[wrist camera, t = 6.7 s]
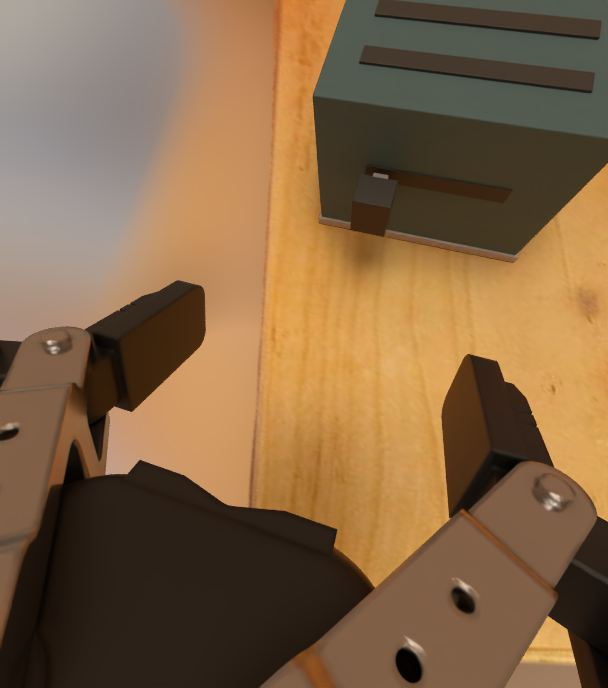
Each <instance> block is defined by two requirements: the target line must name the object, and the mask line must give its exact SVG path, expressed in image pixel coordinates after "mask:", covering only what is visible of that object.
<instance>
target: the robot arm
mask: <svg viewBox="0 0 608 688" xmlns="http://www.w3.org/2000/svg"><path fill="white" fill-rule="evenodd" d="M205 331H206V327H205V294H204V289H203V288H202V287H201V286H199V285H195V284H191V283H187V282H183V281H179V280H178V281H175V282H174V283H172V284H170V285H169V286H167V287H165V288H163V289H162V290H160V291H158V292H155V293H152V294H148V295H144V296H142V297H140V298H138V299H137V300H135V301H133V302H131V303H130V305H126V306H124V307H123V308H121V309H120V311H116V312H114V313H112V314H111V315H109V316H107V317H105V318H104V319H102V320H100V321H98V322H97V323H95V324H93V325H92V326H90V327H88V328H86V329H85V330H83V329H81V328H76V327H55V328H49V329H45V330H42V331H39V332H37V333H34V334H32V335H30V336H29V337H28V338H26V339H25V340H24V341H23V342H18V341H2V340H0V688H504V687H505V686H506V684H507V682H508V680H509V679H510V677H511V676H512V674H513V672H514V671H515V669H516V667H517V666H518V664H519V662H520V661H521V659H522V657H523V656H524V654H525V652H526V651H527V649H528V648H529V646H530V644H531V643H532V641H533V639H534V638H535V636H536V634H537V633H538V631H539V629H540V628H541V626H542V624H543V623H544V621H545V619H546V618H547V616H549V617H550V618H552V619H553V620H555V621H556V622H558V623H559V624H561V625H562V626H564V627H565V628H567V630H568V634H569V638H570V642H571V646H572V650H573V654H574V658H575V662H576V666H577V670H578V674H579V678H580V682H581V686H582V688H608V522H607V521H605V520H604V519H602V518H600V517H598V516H597V512H596V508H595V506H594V503H593V502H592V500H591V498H590V497H589V496H588V494H587V493H586V492H585V491H584V490H583V489H582V487H581V486H580V485H578V484H577V483H576V482H575V481H574V480H573V479H571V478H570V477H569V476H567V475H566V474H564V473H563V472H561V471H559V470H557V469H555V468H554V465H553V463H552V461H551V458H550V456H549V453H548V451H547V448H546V446H545V443H544V441H543V438H542V436H541V433H540V431H539V428H537V427H536V425H537V424H536V421H535V419H534V416H533V415H531V414H532V411H531V409H530V406H529V404H528V401H527V399H526V397H525V396H524V395H523V394H522V393H521V392H520V391H519V390H518V389H517V388H516V387H515V385H514V384H512V383H508V382H505V381H504V378H503V375H502V372H501V370H500V367H499V364H498V362H497V361H494V360H490V359H486V358H482V357H478V356H474V355H470V354H467V355H466V356H465V357H464V359H463V361H462V363H461V365H460V367H459V369H458V371H457V374H456V376H455V378H454V380H453V382H452V384H451V387H450V389H449V391H448V393H447V395H446V398H445V400H444V404H443V408H442V430H443V443H444V456H445V469H446V482H447V495H448V508H449V518H451V519H450V520H449V521H448V522H447V523H446V524H445V525H443V526H442V527H441V528H440V529H439V530H438V531H437V532H436V533H435V534H434V535H433V536H432V537H430V538H429V539H428V540H427V541H426V542H425V543H424V544H423V545H422V546H421V547H420V548H419V549H417V550H416V551H415V552H414V553H413V554H412V555H411V556H410V557H409V558H408V559H407V560H405V561H404V562H403V563H402V564H401V565H400V566H399V567H398V568H397V569H396V570H395V571H394V572H392V573H391V574H390V575H389V576H388V577H387V578H386V579H385V580H384V581H383V582H382V583H381V584H379V585H378V586H377V587H376V588H375V587H374V586H373V585H372V583H371V582H370V581H369V579H368V578H367V577H366V575H365V574H364V573H363V572H362V571H361V570H360V569H359V568H358V567H357V566H356V564H355V563H353V562H352V561H351V560H350V559H349V558H348V557H347V556H345V555H344V554H343V553H342V552H340V551H339V550H337V549H336V548H334V543H335V538H336V534H337V529H334V528H332V527H329V526H326V525H323V524H320V523H317V522H315V521H312V520H309V519H306V518H303V517H300V516H298V515H295V514H292V513H289V512H286V511H278V510H268V509H257V508H246V507H235V506H229V505H226V504H224V503H223V502H221V501H219V500H218V499H217V498H215V497H214V496H212V495H211V494H210V493H208V492H207V491H206V490H204V489H203V488H201V487H200V486H199V485H197V484H196V483H194V482H193V481H191V480H190V479H189V478H187V477H186V476H184V475H181V474H178V473H176V472H173V471H170V470H167V469H164V468H161V467H158V466H155V465H153V464H150V463H147V462H144V461H142V460H139V461H138V463H137V464H136V465H135V466H134V467H133V468H132V470H131V471H130V472H129V473H128V474H113V475H112V474H111V475H105V471H106V459H107V448H108V447H107V446H108V436H109V424H110V417H109V413H108V411H109V410H111V409H112V408H113V407H114V406H115V407H118V408H121V409H124V410H127V411H130V412H132V411H134V409H135V408H137V407H138V406H139V405H140V404H141V403H142V402H143V401H144V400H145V399H146V398H147V397H148V396H149V395H150V394H151V393H152V392H153V391H154V390H155V389H156V388H157V387H158V386H160V385H161V384H162V383H163V382H164V381H165V380H166V379H167V378H168V377H169V376H170V375H171V374H172V373H173V372H174V371H175V370H176V369H177V368H178V367H179V366H180V365H181V364H182V363H183V362H185V360H186V359H188V358H189V357H190V356H191V355H192V354H193V353H194V352H195V351H196V350H197V349H198V348H199V347H200V346H201V344H202V342H203V340H204V336H205Z"/></svg>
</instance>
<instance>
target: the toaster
mask: <svg viewBox="0 0 608 688" xmlns="http://www.w3.org/2000/svg"><path fill="white" fill-rule="evenodd" d="M313 106H314V120H315V133H316V147H317V161H318V174H319V188H320V202H321V212H320V215H319V223H321V224H326V225H331V226H336V227H341V228H346V229H350V224H351V208H352V199H353V196H354V192H355V189H356V185H357V182H358V179H359V175H360V174H362V175H368V176H373V173H379V174H384V175H388V179H391V180H396V181H398V184H397V188H396V192H395V196H394V200H393V204H392V209H391V213H390V217H389V220H388V224H387V228H386V232H385V235H384V236H385V237H390V238H395V239H400V240H405V241H410V242H415V243H420V244H425V245H430V246H434V247H439V248H444V249H449V250H454V251H459V252H464V253H469V254H474V255H479V256H484V257H489V258H493V259H498V260H503V261H508V262H515V261H516V260H517V259H518V256H519V251H520V250H521V249H522V248H523V247H524V246H525V245H526V244H527V243H528V242H529V241H530V240H531V239H532V238H533V237H534V236H535V235H536V234H537V233H538V232H539V231H540V230H541V229H542V228H543V227H544V226H545V225H546V224H547V223H548V222H549V221H550V220H551V219H552V218H553V217H554V216H555V215H556V214H557V213H558V212H559V211H560V210H561V209H562V208H563V207H564V206H565V205H566V204H567V203H568V202H569V201H570V200H571V199H572V198H573V197H574V196H575V195H576V194H577V193H578V192H579V191H580V190H581V189H582V188H583V187H584V186H585V185H586V184H587V183H588V182H589V181H590V180H591V179H592V178H593V177H594V176H595V175H596V174H597V173H598V172H599V171H600V170H601V169H602V168H603V167H604V166H605V165H606V164H607V163H608V0H346V2H345V4H344V7H343V10H342V13H341V16H340V19H339V22H338V24H337V27H336V30H335V33H334V36H333V39H332V42H331V45H330V47H329V50H328V53H327V56H326V59H325V62H324V65H323V68H322V70H321V73H320V76H319V79H318V82H317V85H316V88H315V90H314V93H313Z"/></svg>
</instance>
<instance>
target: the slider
mask: <svg viewBox="0 0 608 688" xmlns="http://www.w3.org/2000/svg"><path fill="white" fill-rule="evenodd" d="M397 184H398V181H396V180H391V179H388V175H384V174H379V173H373V176H368V175H362V174H360V175H359V179H358V182H357V185H356V189H355V192H354V196H353V199H352V208H351V224H350V230H353V231H358V232H363V233H367V234H372V235H377V236H382V237H384V235H385V232H386V228H387V224H388V220H389V217H390V213H391V209H392V204H393V200H394V196H395V192H396V188H397Z"/></svg>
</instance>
